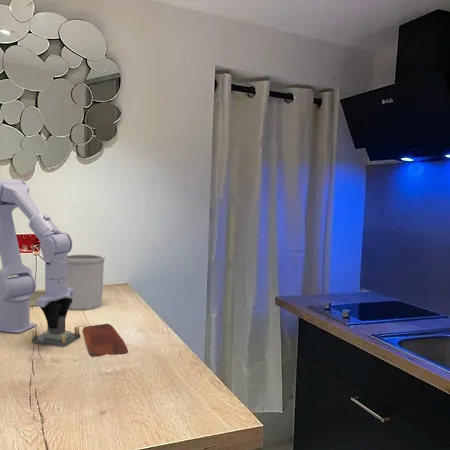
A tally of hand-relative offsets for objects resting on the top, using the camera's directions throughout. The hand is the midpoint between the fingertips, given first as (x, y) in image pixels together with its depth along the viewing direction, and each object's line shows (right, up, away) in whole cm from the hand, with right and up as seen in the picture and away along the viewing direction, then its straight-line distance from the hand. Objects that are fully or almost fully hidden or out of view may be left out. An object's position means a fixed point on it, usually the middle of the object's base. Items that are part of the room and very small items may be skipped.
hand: (56, 326), depth 130 cm
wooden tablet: (+12, -5, +3) cm, 13 cm away
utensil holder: (-4, -1, +37) cm, 37 cm away
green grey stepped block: (0, -3, 0) cm, 3 cm away
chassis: (0, -4, 0) cm, 4 cm away
